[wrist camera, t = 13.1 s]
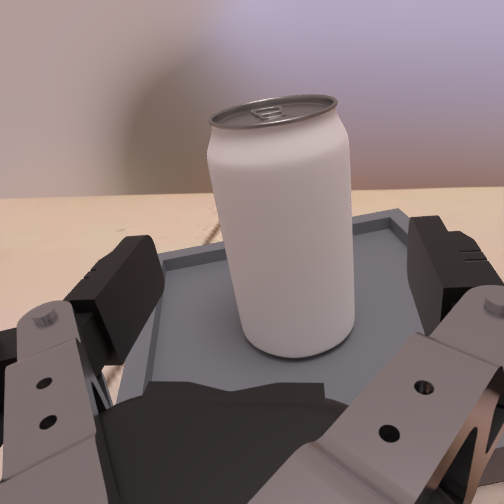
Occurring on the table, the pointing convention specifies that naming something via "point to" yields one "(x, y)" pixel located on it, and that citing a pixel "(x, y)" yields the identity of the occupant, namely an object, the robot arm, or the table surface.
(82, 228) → the table surface
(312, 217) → the can
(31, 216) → the table surface
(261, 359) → the tray
